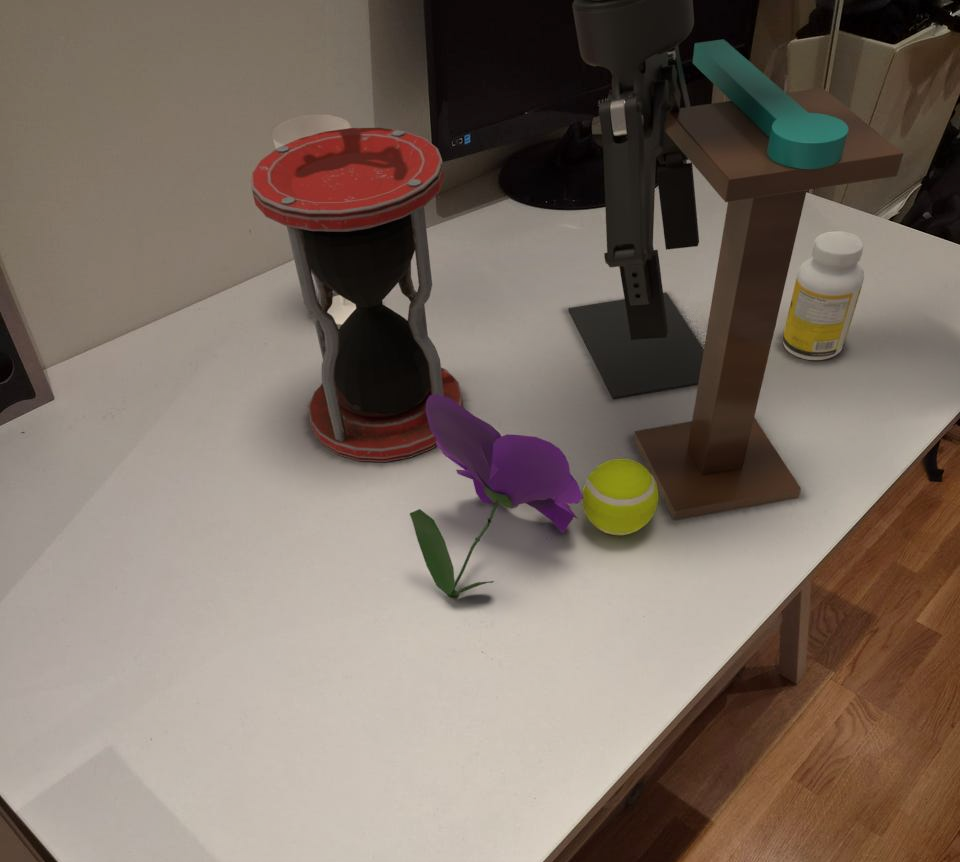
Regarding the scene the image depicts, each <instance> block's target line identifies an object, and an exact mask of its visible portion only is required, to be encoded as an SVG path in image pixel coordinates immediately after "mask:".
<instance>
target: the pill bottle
mask: <svg viewBox="0 0 960 862" xmlns="http://www.w3.org/2000/svg"><path fill="white" fill-rule="evenodd" d="M864 247H865V243H864V240H862V238H861V237H860V236H858V235H856V234H853V233H851V232H848V231H841V230H839V231H837V230H836V231H827V232H823V233H821V234H819V235H817V236H816V238H815V240H814V243H813V247H812V251H811V256H812V257H810V258H808V259H806V260H805V261H804V262H803V263H802V264H801V265H800V267H799V268H798V272H797V274H796V278H795V283H794V287H793V292H792V295H791V300H790V304H789V309H788V312H787V317H786V321H785V325H784V330H783V334H782V344H783V346H784V348H785V350H786V351H787V352H788V353H790V354H791V355H793V356H794V357H797V358H800V359H803V360H807V361H824V360H829V359H830V358H833V357H835V356H837V355H838V354H839V353H841V352H842V349H844V346H845V344H846V340H847V336H848V334H849V330H850V328H851V324H852V321H853V317H854V314H855V311H856V307H857V304H858V301H859V297H860V294H861V290H862V287H863V283H864V280H865V274H864V273H865V272H864V270H863V268H862V266H861V265H860V263H858V262H860V260H861V257H862V256H863V255H862V254H863V251H864Z"/></svg>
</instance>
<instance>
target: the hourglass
mask: <svg viewBox="0 0 960 862" xmlns="http://www.w3.org/2000/svg"><path fill="white" fill-rule="evenodd" d="M443 163H444V161H443V158H442V155H441V153H440V150H439V148H438V147H437V146H435V145H434V144H433V143H431V142H430V141H429V140H427V139H426V138H425V137H422V136H420V135H417V134H414V133H411V132H408V131H405V130H401V129H400V130H398V129H392V128H385V127H351V128H348V129H341V130H333V131H326V132H322V133H318V134H314V135H310V136H307V137H303V138H299V139H297V140H294V141H292V142H290V143H288V144H285V145H283V146H281V147H278V148H276V149H274V150H272V151H271V152H269V153H268V154H267V155H265V156H264V157H262V158H261V159H260V160H259V161H258V163H257V164H256V165H255V167H254V169H253V170H252V172H251V173H250V188H251V191H252V192H251V193H252V197H253V200H254V205H255V206H256V207H257V209H258V210H259V211H260V212H261V213H262V215H263V216H264V217H265V218H267V219H270V220H272V221H273V222H277V223H279V224H280V225H282V226H285V227H286V229H287V233H288V238H289V242H290V248H291V252H292V255H293V260H294V265H295V269H296V273H297V277H298V278H297V279H298V282H299V288H300V291H301V296H302V300H303V304H304V306H305V308H306V309H307V311H308V313H309V315H310V316H311V317H312V318H313V322H314V326H315V332H316V335H317V340H318V345H319V348H320V354H321V358H322V363H321V382H322V383H321V384H320V385H319V387H317V388H316V390H314V392H313V394H312V397H311V399H310V402H309V405H308V415H309V422H310V427H311V429H312V433H313V434H314V435H315V437H316V439H317V440H318V442H319V443H320V444H321V445H322V446H323V447H325V448H326V449H328V450H329V451H331V452H333V453H334V454H336V455H338V456H340V457H344V458H347V459H351V460H355V461H358V462H359V461H360V462H374V463H375V462H376V463H377V462H379V463H385V462H392V461H399V460H404V459H409V458H412V457H415V456H418V455H420V454H423V453H425V452H427V451H430V450H432V449H434V448H435V447H437V445H436V438H435V436H434V435H433V433H432V432H431V430H430V426H429V423H428V419H427V414H426V401H427V399H428V397H429V396H430V395H434V394H438V395H442V396H445V397H448V398H451V399H452V400H454V401H455V402H456V403H458V404H459V405H460V406H462V407H463V408H464V400H463V399H464V398H463V392H462V390H461V386H460V383H459V381H458V380H457V379H456V378H455V377H454V376H453V375H452V374H451V373H450V372H449V371H448V370H447V369H445V368H443V367H442V365H441V358H440V356H439V353H438V350H437V348H436V346H435V344H434V343H433V341H432V339H431V338H430V337H429V334H428V324H427V314H426V307H425V304H427V301H428V300H429V299H430V296H431V291H432V288H433V278H432V269H431V261H430V259H431V258H430V249H429V241H428V233H427V223H426V214H425V207H426V206H427V205H428V204H429V203H430V202H431V201H432V200H433V199H434V198H435V197H437V195H438V194H439V193H440V191H441V189H442V187H443V183H444V180H445V171H444V165H443ZM414 254H415V261H416V262H415V263H416V271H417V280H418V281H417V282H418V289H417V290H416V289H415V286H414V283H413V278H412V260H413V258H414ZM314 282H315V283H314ZM315 285H316V288H315ZM397 285H398V287H399V289H400V292H401V294H403V295H404V296H405V297H406V298H407V299H408V300H409V302H410V303H409V305H408V314H407V315H408V316H407V319H406V318H405V317H404V316H402V315H401V314H399V313H398V312H396V311H395V310H393V309H392V308H390V307H388V306H386V305H385V304H384V303H383V301H384V299H385V298H386V297H387V296H388V295H389V294H390V293H391V292H392V291H393V289H394V288H395V287H396V286H397ZM316 289H317V291H318V297H317V293H316ZM333 293H336V294H337V295H341V296H342V297H344V298H345V299H347V300H349V301H350V302H352V303H354V304H356V309H355V310H354V311H353V312H352V313H351V315H350V316H349V317H348V318H347V319H346V321H345V322H344V323H343V324H340V326H339V327H338V324H336V323H335V320H334V318H333V317H332V316H331V315H330V314H329V313H327V311H328V310H329V308H330V307H331V305H332V299H333V297H334V296H333V295H334V294H333Z"/></svg>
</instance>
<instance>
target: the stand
mask: <svg viewBox="0 0 960 862" xmlns="http://www.w3.org/2000/svg"><path fill="white" fill-rule="evenodd" d="M785 93H786V94H787V95H788V96H789V97H791V98H792V99H793V100H794V101H795V102H796V103H798V104H799V105H800V106H801V107H802V108H803V109H804V110H806V111H807V112H808V113H818V114H825V115H829V116H833V117H835V118H838V119H840V120H842V121H843V122H845V123H846V124H847V126H848V135H847V139H846V143H845V147H844V151H843V154H842V158H841V159H840V160H839V161H838V162H837V163H835V164H833V165H831V166H828V167H824V168H817V169H798V168H791V167H787V166H783V165H781V164H778V163H776V162H774V161H773V160H771V159H770V158H769V156H768V155H767V148H768V143H769V137H768V136H767V135H766V134H765V133H764V132H763V131H762V130H761V129H759V128H758V127H757V126H756V125H755V124H754V123H753V122H752V121H751V120H750V119H749V118H748V117H747V116H746V115H745V114H744V113H743V112H742V111H741V110H740V109H739V108H738V107H737V106H736V105H735V104H734V103H733V102H732V101H731V100H727V101H721V102H715V103H707V104H701V105H700V104H699V105H693V106H690V107H685V108H680V111H679V112H670V113H669V114H668V116H667V121H666V133H667V134H668V135H669V136H670V137H671V139H672V140H673V141H674V142H675V143H676V145H677V146H678V147H679V148H680V149H681V150H682V152H683V153H684V154H685V155H686V156H687V158H688V159H689V160H688V161H689V162H690V163H692V166H694V167H695V168H696V169H697V171H698V172H699V173H700V174H701V175H702V177H703V178H704V179H705V180H706V181H707V183H708V184H709V185H710V186H711V187H712V189H713V190H714V191H715V192H716V194H717V195H719V197H720V198H721V199H722V200H723V201H724V203H727V205H726V206H727V207H726V212H725V219H724V224H723V230H722V236H721V244H720V249H719V254H718V259H717V260H718V261H717V266H716V272H715V279H714V284H713V291H712V297H711V304H710V309H709V316H708V321H707V327H706V334H705V340H704V345H703V349H704V351H703V358H702V364H701V370H700V376H699V382H698V385H697V387H696V394H695V400H694V406H693V413H692V419H691V420H690V421H686V422H679V423H673V424H667V425H663V426H656V427H650V428H645V429H639V430H634V434H633V442H634V444H635V446H636V448H637V450H638V452H639V454H640V456H641V458H642V460H643V462H644V464H645V467H646V468H647V469H648V471H649V472H650V473H651V474H652V476H653V477H654V479H655V481H656V484H657V487H658V493H659V494H660V496H661V498H662V500H663V502H664V504H665V507H666V508H667V510H668V512H669V514H670V516H671V518H672V520H673V521H678V520H679V521H680V520H685V519H690V518H695V517H701V516H702V517H703V516H706V515H712V514H718V513H723V512H728V511H734V510H739V509H745V508H750V507H755V506H762V505H767V504H772V503H777V502H782V501H783V502H784V501H788V500H793V499H799V497H800V494H801V491H802V487H801V486H800V484H799V483H798V481H797V480H796V478H795V476H794V475H793V474H792V473H791V470H790V469H789V468H788V467H787V465H786V463H785V462H784V459H782V457H781V456H780V454H779V453H778V450H777V449H776V448H775V446H774V445H773V443H772V442H771V441H770V439H769V437H768V436H767V434H766V433H765V431H764V430H763V429H762V427H761V426H760V424H759V422H758V421H757V419H756V418H755V416H756V411H757V408H758V403H759V400H760V394H761V389H762V386H763V381H764V377H765V373H766V368H767V366H768V365H767V364H768V360H769V355H770V351H771V346H772V342H773V338H774V334H775V329H776V325H777V321H778V317H779V314H780V313H779V312H780V307H781V304H782V300H783V295H784V290H785V287H786V282H787V277H788V273H789V269H790V264H791V260H792V255H793V252H794V247H795V242H796V238H797V234H798V230H799V226H800V221H801V217H802V213H803V208H804V204H805V199H806V195H807V192H808V191H809V190H816V189H823V188H828V187H829V188H830V187H836V186H843V185H849V184H854V183H861V182H869V181H876V180H882V179H888V178H896V177H897V176H898V172H899V170H900V165H901V163H902V159H903V157H904V152H903V151H901V150H900V149H899V147H896V145H894V144H893V143H892V142H890V141H889V140H888V139H887V138H886V137H884V136H883V135H882V134H880V133H879V132H878V131H877V130H875V129H874V128H873V126H871V125H870V124H868V123H867V122H865V121H864V120H863V119H862V118H861V117H860V116H859V115H857V114H856V113H855V112H854V111H852V110H851V109H850V108H848V107H847V106H846V105H845V104H843V103H842V102H841V101H839V99H837V98H836V97H834V96H833V95H832V94H831V93H830V92H828V91H827V90H826V89H825V88H824V87H818V88H812V89H805V90H798V91H791V92H785Z"/></svg>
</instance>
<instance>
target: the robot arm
mask: <svg viewBox="0 0 960 862" xmlns="http://www.w3.org/2000/svg"><path fill="white" fill-rule="evenodd" d="M571 6H572V12H573V18H574V19H573V20H574V24H575V31H576V38H577V43H578V49H579V54H580V58H581V59H582V61H583V62H584V63H585V64H587V65H589V66H591V67H594V68H599V67H602V68H605V69H607V70H608V71H609V72H610V74H611V76H612V77H611V89H610V90H609V91H608V95H607V101H600V103H599V105H598V117H599V124H600V131H601V137H602V138H601V139H602V153H603V178H604V204H605V208H604V209H605V230H606V231H605V232H606V233H605V234H606V252H604V253H603V254H604V257H603V258H604V262H605V264H606V265H607V266H608V267H609V268H619V274H620V279H621V285H622V286H621V287H622V292H623V299H625V305H626V311H627V317H628V323H629V329H630V336H631V340H635V339H650V338H666V336H667V333H668V328H667V320H666V312H665V304H664V296H663V293H664V289H663V281H662V274H661V265H660V258H659V257H660V256H659V249H654V227H655V225H654V224H655V200H656V199H655V197H656V195H655V194H656V179H657V186H658V195H659V204H660V213H661V222H662V229H663V237H664V238H663V239H664V247H665V250H666V251H667V250H675V249H676V250H677V249H684V248H685V249H686V248H694V247H695V248H696V247H698V246H699V244H700V236H699V224H698V223H699V222H698V213H697V212H698V211H697V202H696V189H695V180H694V169H693V168H694V167H693V163H692V162H688V161H690V160H689V159H688V158H687V156H686V155H685V154H684V153H683V152H682V150H681V149H680V148H679V147H678V146H677V145H676V143H675V142H674V141H673V140H672V139H671V137H670V136H669V135H668V134H667V133H666V121H667V116H668V114H669V113H670V112H679V111H680V108H685V107H691V102H690V98H689V93H688V89H687V84H686V78H685V73H684V69H683V64H682V60H681V56H680V55H681V54H680V46H679V45H680V44H681V43H682V42H683V41H685V40H686V39H687V38H688V37H689V36H690V34H691V33H692V31H693V28H694V25H695V14H694V13H695V12H694V1H693V0H574V1H573V2H572V5H571ZM657 160H658V162H659V164H660V165H663V164H665V166H659V167H657V165H656V164H657ZM656 168H657V170H656Z"/></svg>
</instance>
